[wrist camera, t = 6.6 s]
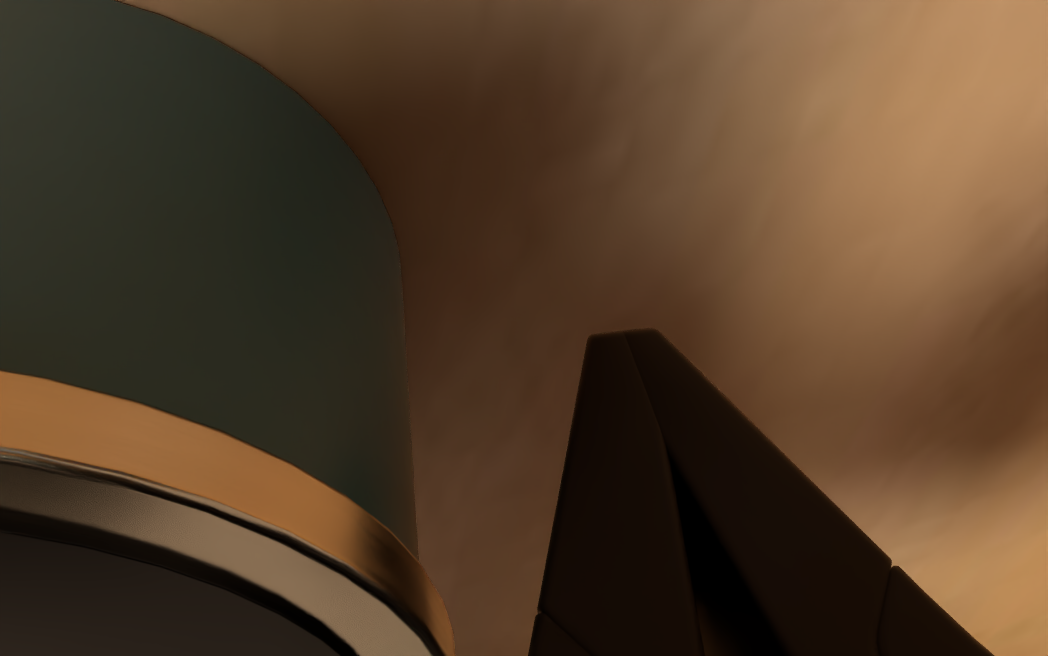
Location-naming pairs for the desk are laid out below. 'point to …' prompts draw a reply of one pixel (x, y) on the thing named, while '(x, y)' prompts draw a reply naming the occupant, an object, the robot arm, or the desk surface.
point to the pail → (194, 358)
